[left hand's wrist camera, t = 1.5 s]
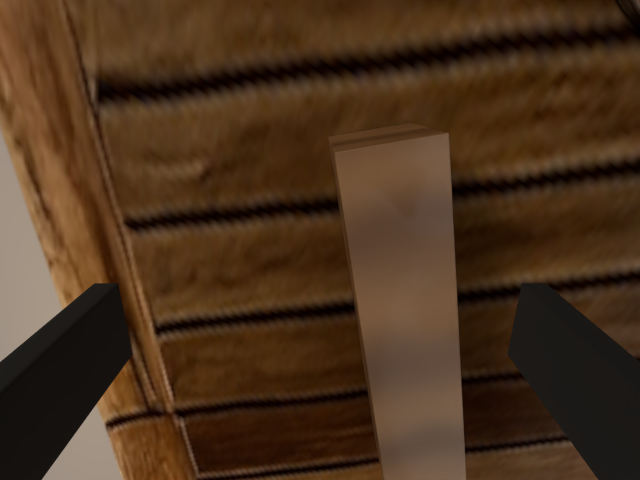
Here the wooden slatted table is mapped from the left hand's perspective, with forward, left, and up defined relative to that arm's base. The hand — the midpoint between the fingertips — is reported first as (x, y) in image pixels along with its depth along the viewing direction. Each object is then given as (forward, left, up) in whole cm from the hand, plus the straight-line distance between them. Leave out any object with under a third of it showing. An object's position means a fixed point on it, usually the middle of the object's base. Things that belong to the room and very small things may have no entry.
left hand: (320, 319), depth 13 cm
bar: (-4, +9, -16) cm, 18 cm away
